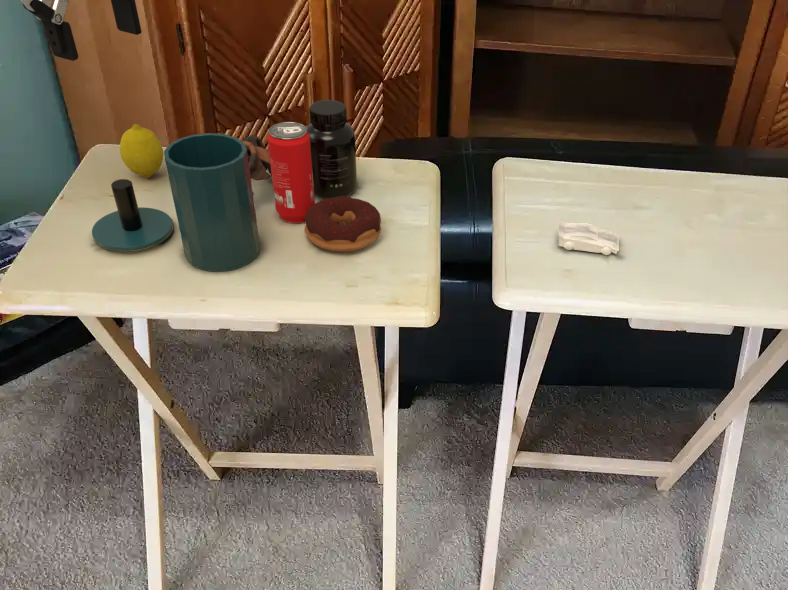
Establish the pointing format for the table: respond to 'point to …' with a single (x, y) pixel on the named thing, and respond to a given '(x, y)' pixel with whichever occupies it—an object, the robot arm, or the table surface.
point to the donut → (342, 237)
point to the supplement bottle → (332, 150)
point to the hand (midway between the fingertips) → (99, 44)
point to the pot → (213, 201)
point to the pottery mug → (257, 158)
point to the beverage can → (291, 170)
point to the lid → (131, 223)
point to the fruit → (141, 151)
